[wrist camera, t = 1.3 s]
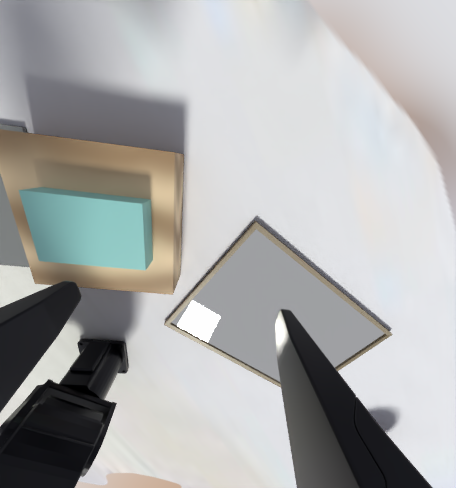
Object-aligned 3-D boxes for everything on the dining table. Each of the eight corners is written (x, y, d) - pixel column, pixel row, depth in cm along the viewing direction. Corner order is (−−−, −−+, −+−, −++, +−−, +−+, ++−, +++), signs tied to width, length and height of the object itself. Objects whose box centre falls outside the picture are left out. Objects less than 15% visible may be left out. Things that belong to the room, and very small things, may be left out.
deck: (180, 274, 24) (172, 294, 21) (64, 264, 23) (35, 283, 20) (183, 154, 19) (174, 152, 15) (34, 134, 18) (-15, 127, 14)
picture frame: (165, 319, 28) (296, 390, 35) (164, 324, 27) (298, 397, 34) (254, 219, 22) (387, 329, 30) (256, 222, 21) (392, 334, 29)
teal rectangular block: (152, 260, 19) (145, 270, 17) (57, 251, 18) (38, 261, 17) (150, 199, 17) (142, 203, 15) (41, 187, 16) (18, 190, 14)
